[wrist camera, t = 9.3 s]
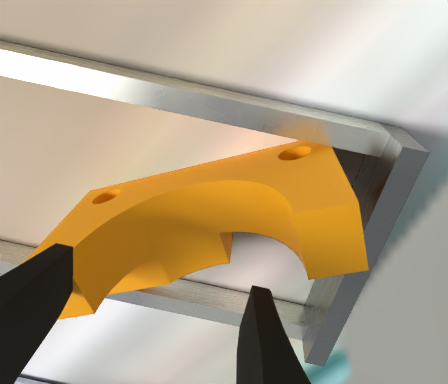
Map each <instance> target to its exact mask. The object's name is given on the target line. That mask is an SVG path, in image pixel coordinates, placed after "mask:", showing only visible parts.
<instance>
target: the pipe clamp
mask: <svg viewBox="0 0 448 384" xmlns="http://www.w3.org/2000/svg"><path fill="white" fill-rule="evenodd" d="M232 232H250V233H256V234H261V235H265V236H268V237H271V238H274V239H276V240H278V241H280V242H282V243H283V244H285V245H287V246H288V247H289V248H290V249H292V250H293V251H294V252H295V253H296V255H297V256H298V257H299V258H300V260H301V261H302V263H303V265H304V267H305V269H306V272H307V275H308V279H309V280H310V279H317V278H323V277H329V276H336V275H342V274H348V273H355V272H361V271H367V270H369V268H368V261H367V255H366V248H365V241H364V234H363V228H362V221H361V214H360V208H359V202H358V199H357V197H356V195H355V193H354V191H353V189H352V187H351V185H350V183H349V181H348V179H347V177H346V175H345V173H344V171H343V169H342V167H341V165H340V163H339V161H338V159H337V157H336V155H335V153H334V150H333V148H332V147H330V146H325V145H321V144H316V143H312V142H307V141H302V140H300V141H296V142H292V143H288V144H284V145H279V146H275V147H271V148H267V149H263V150H259V151H254V152H250V153H246V154H242V155H238V156H234V157H229V158H225V159H221V160H217V161H213V162H208V163H204V164H200V165H196V166H192V167H188V168H183V169H179V170H175V171H171V172H167V173H163V174H158V175H154V176H150V177H146V178H142V179H137V180H133V181H129V182H125V183H121V184H117V185H112V186H108V187H104V188H100V189H96V190H92V191H89V192H88V194H87V195H86V196H85V197H84V198H83V199H82V200H81V201H80V202H79V203H78V204H77V205H76V206H75V207H74V209H73V210H72V211H71V212H70V213H69V214H68V215H67V216H66V217H65V218H64V219H63V220H62V221H61V223H60V224H59V225H58V226H57V227H56V228H55V229H54V230H53V231H52V232H51V233H50V234H49V235H48V236H47V238H46V239H45V240H44V241H43V242H42V243H41V244H40V245H39V246H38V247H37V248H36V249H35V250H34V252H33V253H32V254H31V255H30V256H29V257H28V258H27V259H26V260H25V261H27V260H29V259H30V258H32V257H34V256H35V255H37V254H39V253H40V252H42V251H44V250H45V249H47V248H49V247H50V246H52V245H54V244H56V243H58V244H63V245H68V246H72V247H73V291H72V293H71V295H70V297H69V299H68V301H67V303H66V305H65V307H64V309H63V311H62V313H61V315H60V316H59V318H58V319H65V318H71V317H77V316H84V315H90V314H95V312H96V310H97V309H98V307H99V305H100V304H101V303H102V301H103V300H104V298H105V297H106V296H107V295H110V294H116V293H121V292H127V291H133V290H139V289H145V288H151V287H157V286H163V285H169V284H170V283H172V282H174V281H176V280H177V279H179V278H181V277H183V276H186V275H188V274H190V273H193V272H195V271H198V270H201V269H204V268H207V267H211V266H215V265H221V264H228V263H230V255H231V247H232V240H233V235H232ZM25 261H24V262H25ZM24 262H23V263H24ZM58 319H57V320H58Z"/></svg>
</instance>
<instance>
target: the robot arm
mask: <svg viewBox="0 0 448 384" xmlns="http://www.w3.org/2000/svg"><path fill="white" fill-rule="evenodd" d="M72 291H73V247H72V246H68V245H63V244H58V243H56V244H54V245H52V246H50V247H49V248H47V249H45V250H44V251H42V252H40V253H39V254H37V255H35V256H34V257H32V258H30V259H29V260H27V261H25V262H24V263H22V264H21V265H19V266H17V267H15V268H14V269H12V270H10V271H8V272H7V273H5V274H3V275H2V276H0V384H49V383H45V382H40V381H35V380H30V379H26V378H21V377H19V375H20V373H21V372H22V370H23V369H24V368H25V366H26V365H27V363H28V362H29V360H30V359H31V357H32V356H33V354H34V353H35V352H36V350H37V349H38V347H39V346H40V344H41V343H42V341H43V340H44V339H45V337H46V336H47V334H48V333H49V331H50V330H51V328H52V327H53V325H54V324H55V322H56V321H57V319H58V318H59V316H60V315H61V313H62V311H63V309H64V307H65V305H66V303H67V301H68V299H69V297H70V295H71V293H72ZM236 384H311V383H310V381H309V379H308V377H307V376H306V374H305V372H304V370H303V368H302V366H301V364H300V362H299V360H298V358H297V356H296V354H295V352H294V350H293V348H292V346H291V344H290V341H289V339H288V337H287V334H286V332H285V330H284V327H283V325H282V322H281V320H280V317H279V314H278V312H277V309H276V306H275V303H274V300H273V297H272V293H271V291H270V290H269V289H267V288H262V287H258V286H253V285H252V288H251V291H250V294H249V298H248V301H247V304H246V308H245V311H244V314H243V317H242V321H241V324H240V330H239V338H238V347H237V377H236Z"/></svg>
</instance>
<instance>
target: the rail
mask: <svg viewBox="0 0 448 384" xmlns="http://www.w3.org/2000/svg"><path fill="white" fill-rule="evenodd" d="M0 75H2V76H7V77H11V78H16V79H21V80H25V81H30V82H35V83H39V84H44V85H48V86H53V87H58V88H62V89H67V90H71V91H76V92H81V93H85V94H90V95H95V96H99V97H104V98H108V99H113V100H118V101H122V102H127V103H131V104H136V105H141V106H145V107H150V108H155V109H159V110H164V111H168V112H173V113H178V114H182V115H187V116H191V117H196V118H201V119H205V120H210V121H215V122H219V123H224V124H228V125H233V126H238V127H242V128H247V129H251V130H256V131H261V132H265V133H270V134H275V135H279V136H284V137H288V138H293V139H298V140H302V141H307V142H312V143H316V144H321V145H325V146H330V147H335V148H339V149H344V150H348V151H353V152H358V153H362V154H366V156H365V158H364V160H363V163H362V165H361V168H360V170H359V173H358V175H357V178H356V180H355V183H354V185H353V188H352V189H353V191H354V193H355V195H356V197H357V199H358V202H359V208H360V214H361V221H362V228H363V234H364V241H365V248H366V255H367V261H368V268H369V270H367V271H361V272H355V273H348V274H342V275H336V276H329V277H323V278H317V279H315V281H314V284H313V286H312V289H311V291H310V294H309V296H308V299H307V301H306V304H305V306H304V305H300V304H295V303H290V302H286V301H281V300H276V299H273V300H274V303H275V306H276V309H277V312H278V314H279V317H280V320H281V322H282V325H283V327H284V330H285V332H286V334H287V337H290V338H295V339H299V340H302V342H303V350H304V359H305V362H306V363H310V364H315V365H320V366H324V365H325V363H326V361H327V359H328V357H329V355H330V353H331V351H332V349H333V347H334V345H335V343H336V341H337V339H338V337H339V335H340V333H341V331H342V329H343V327H344V325H345V323H346V321H347V319H348V317H349V315H350V313H351V311H352V309H353V307H354V305H355V302H356V300H357V298H358V296H359V294H360V292H361V290H362V288H363V286H364V284H365V282H366V280H367V278H368V276H369V274H370V272H371V270H372V268H373V266H374V264H375V262H376V260H377V258H378V256H379V254H380V252H381V250H382V248H383V246H384V244H385V242H386V240H387V238H388V236H389V234H390V232H391V229H392V227H393V225H394V223H395V221H396V219H397V217H398V215H399V213H400V211H401V209H402V207H403V205H404V203H405V201H406V199H407V197H408V195H409V193H410V191H411V189H412V187H413V185H414V183H415V181H416V179H417V177H418V175H419V173H420V171H421V169H422V167H423V165H424V163H425V161H426V159H427V157H428V154H429V152H428V151H427V150H426V149H425V148H424V147H423V146H422V145H420V144H419V143H418V142H417V141H416V140H415V139H414V138H413V137H411V136H410V135H409V134H408V133H407V132H406V131H405V130H403V129H402V128H401V127H396V126H392V125H387V124H382V123H378V122H373V121H369V120H364V119H359V118H355V117H350V116H345V115H341V114H336V113H332V112H327V111H322V110H318V109H313V108H309V107H304V106H299V105H295V104H290V103H286V102H281V101H276V100H272V99H267V98H263V97H258V96H253V95H249V94H244V93H240V92H235V91H230V90H226V89H221V88H216V87H212V86H207V85H203V84H198V83H193V82H189V81H184V80H180V79H175V78H170V77H166V76H161V75H157V74H152V73H147V72H143V71H138V70H134V69H129V68H124V67H120V66H115V65H111V64H106V63H101V62H97V61H92V60H87V59H83V58H78V57H74V56H69V55H64V54H60V53H55V52H51V51H46V50H41V49H37V48H32V47H28V46H23V45H18V44H14V43H9V42H5V41H0ZM35 249H36V248H34V247H29V246H25V245H20V244H15V243H11V242H6V241H1V240H0V275H1V276H2V275H3V274H5V273H7V272H8V271H10V270H12V269H14V268H15V267H17V266H19V265H21V264H22V263H23V262H24V261H25V260H26V259H27V258H28V257H29V256H30V255H31V254H32V253H33V252H34V250H35ZM105 298H108V299H113V300H117V301H122V302H127V303H131V304H136V305H141V306H145V307H150V308H155V309H159V310H164V311H169V312H173V313H178V314H183V315H187V316H192V317H197V318H201V319H206V320H211V321H215V322H220V323H225V324H229V325H234V326H239V327H240V324H241V321H242V317H243V314H244V311H245V308H246V304H247V301H248V298H249V294H248V293H244V292H239V291H234V290H230V289H225V288H220V287H216V286H211V285H206V284H202V283H197V282H192V281H188V280H183V279H177V280H176V281H174V282H172V283H170V284H169V285H163V286H157V287H151V288H145V289H139V290H133V291H127V292H121V293H116V294H110V295H107V296H106V297H105Z"/></svg>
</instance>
